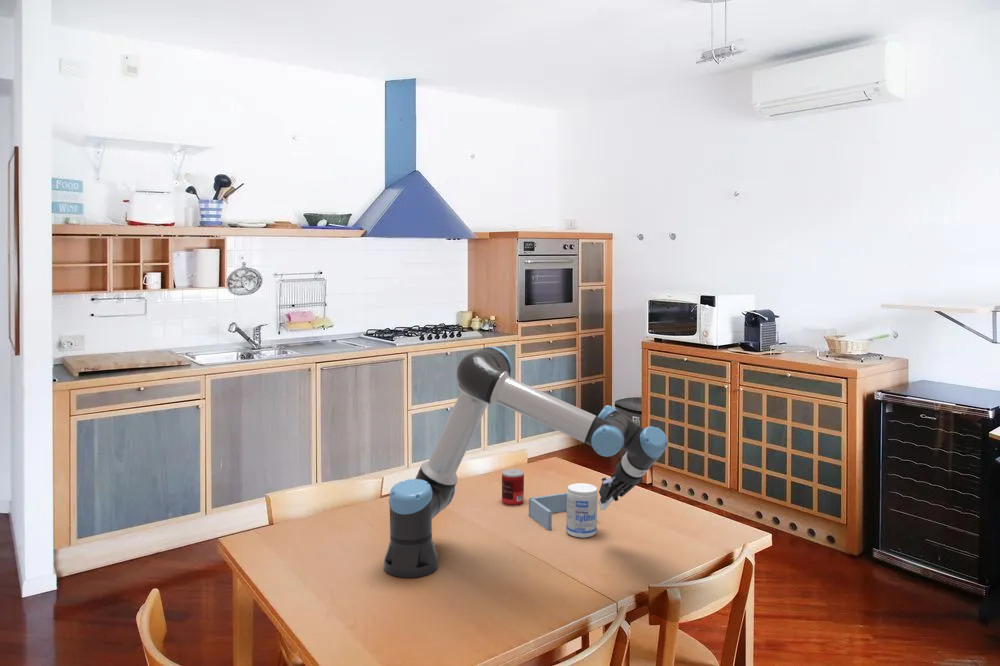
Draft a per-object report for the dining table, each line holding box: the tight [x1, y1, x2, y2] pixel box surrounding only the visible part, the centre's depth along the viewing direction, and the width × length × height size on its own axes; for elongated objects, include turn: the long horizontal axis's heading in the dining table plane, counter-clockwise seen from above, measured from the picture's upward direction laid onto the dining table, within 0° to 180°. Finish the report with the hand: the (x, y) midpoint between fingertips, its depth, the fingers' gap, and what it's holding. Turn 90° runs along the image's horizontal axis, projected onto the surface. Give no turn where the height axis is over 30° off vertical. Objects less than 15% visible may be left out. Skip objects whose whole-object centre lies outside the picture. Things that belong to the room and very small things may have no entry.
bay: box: [528, 492, 567, 531], centre depth 246 cm, size 14×17×6 cm
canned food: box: [501, 468, 525, 506], centre depth 262 cm, size 8×8×11 cm
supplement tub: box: [565, 482, 599, 539], centre depth 234 cm, size 10×10×15 cm
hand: (601, 506), depth 224 cm, fingers closed
